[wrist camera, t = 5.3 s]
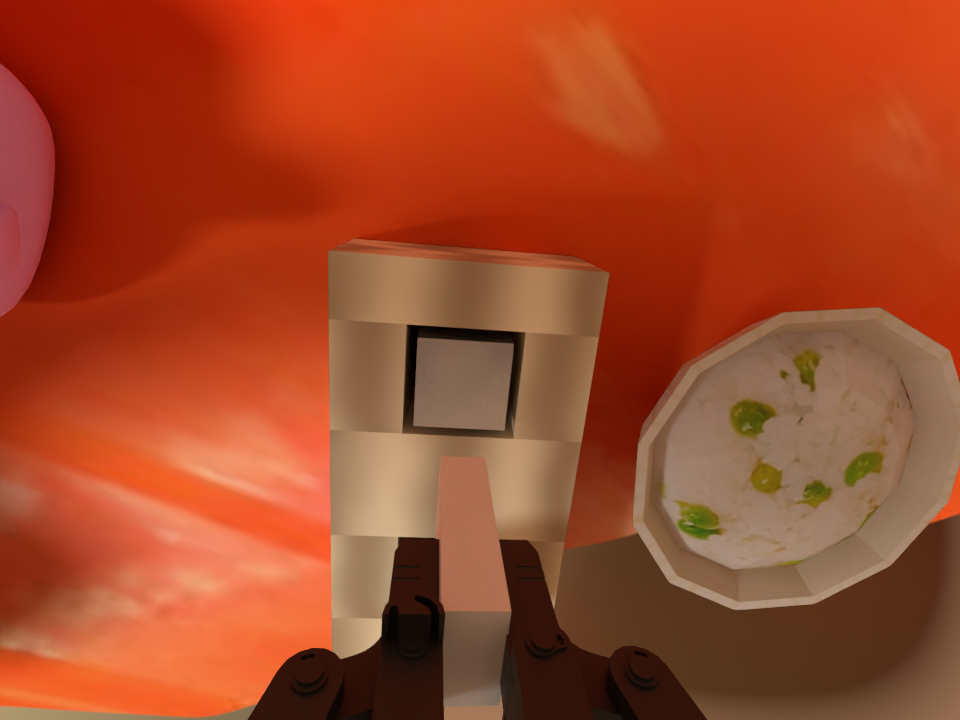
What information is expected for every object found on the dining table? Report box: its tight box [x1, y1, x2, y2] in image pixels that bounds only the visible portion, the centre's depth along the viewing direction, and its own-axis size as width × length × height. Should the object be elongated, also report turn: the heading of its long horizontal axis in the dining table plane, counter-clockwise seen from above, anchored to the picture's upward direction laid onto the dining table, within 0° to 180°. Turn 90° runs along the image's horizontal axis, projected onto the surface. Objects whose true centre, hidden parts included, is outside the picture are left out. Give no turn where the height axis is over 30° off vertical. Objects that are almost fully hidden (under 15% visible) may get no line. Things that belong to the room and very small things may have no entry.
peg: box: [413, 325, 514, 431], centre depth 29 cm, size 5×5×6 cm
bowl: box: [632, 307, 960, 610], centre depth 31 cm, size 19×19×10 cm
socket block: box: [328, 239, 610, 659], centre depth 32 cm, size 14×26×7 cm, turn 175°
